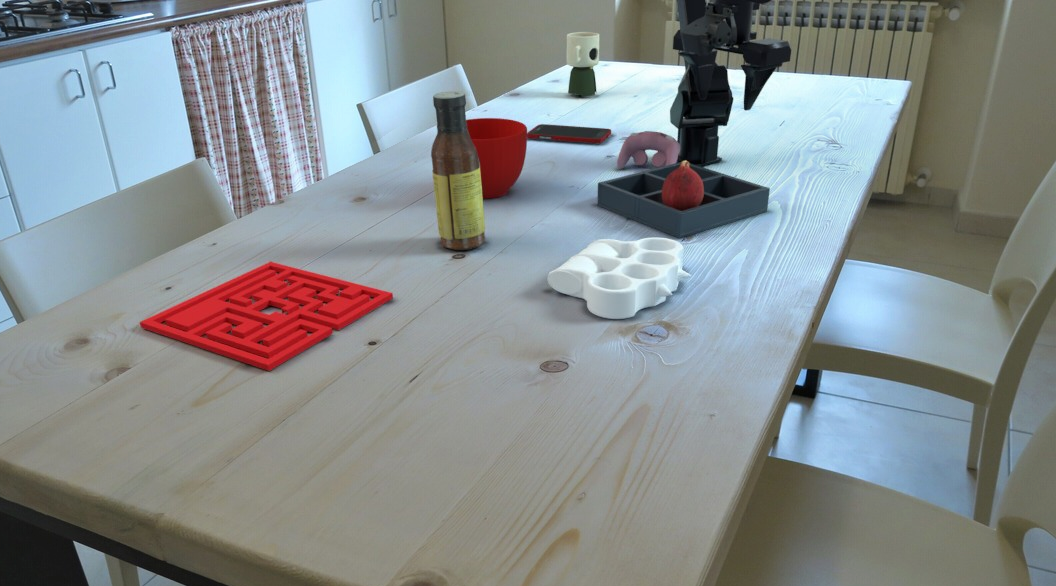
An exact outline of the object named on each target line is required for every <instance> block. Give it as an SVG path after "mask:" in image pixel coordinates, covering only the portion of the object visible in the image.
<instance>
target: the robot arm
mask: <svg viewBox="0 0 1056 586" xmlns="http://www.w3.org/2000/svg"><path fill="white" fill-rule="evenodd" d="M771 1H772V0H713V1H711V2H707V0H676V6H677V12H678V13H677V14H678V21H679V29H678V30H677V31H676V33H675V34H674V35H673V38H672V50H674V51H678V52H677V54H678V56H679V57H682V58H683V61H684V71H685V72H684V74H683V76H682V78H681V80H680V82H679V84H678V86H677V94H676V96H675V98H674V100H673V102H672V105H671V107H670V109H669V122H670V124H671V125H672V126H674V127H675V128H676V129H677V139H676V141H677V142H678V143H679V144H680V152H679V154H678V159H677V162H676V163H679V162H683V161H685V160H686V161H688V162H689V163H690V164H694V165H697V166H700V167H704V166H707V165H711V164H715V163H719V162H722V161H723V158H722V157H720V156H718V152H719V142H720V137H719V127H727V126H728V123H729V120H730V117H731V112H732V107H733V103H734V96H733V91H732V89H731V86H730V82H729V74H728V69H727V67H726V65H724V64H722V65H719V64H718V63H717V62H716V60H717V55H718V51H719V52H726V53H731V54H737V55H741V56H742V59H743V60H744V62H745V63H744V64H740V68H741V69H742V71H743V73H744V75H745V80H744V92H743V110H744V111H751V109H752V108H753V106H754V104H755V102H756V101H757V99H758V98H759V96H760V94H761V92H762V90H763V89H764V87H765V85H766V84H767V82H768V81H769V79H770V78H771V77H772V75H773V74H774V72H775V70H777V68H781V67H783V64H784V63H788V62H791V58H792V46H791V44H790V42H789V41H788V40H783V39H777V38H771V37H768V38H763V39H757V35H758V32H757V31H752V27H753V16H754V11H758V10H760V5H763V4H767V3H769V2H771Z"/></svg>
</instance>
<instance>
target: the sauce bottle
mask: <svg viewBox="0 0 1056 586" xmlns="http://www.w3.org/2000/svg"><path fill="white" fill-rule="evenodd" d="M466 99H467V98H466V94H465V92H463V91H459V90H458V91H457V90H450V91H449V90H448V91H441V92H437V93H434V95H433V97H432V102H433V107H434V109H435V115H436V131H437V132H436V135H435V137H434V140H433V142H432V145H431V151H430V157H431V164H432V171H431V173H432V180H433V190H434V199H435V208H436V218H437V227H438V235H439V236H440V242H441V245H442V247H443V248H445V249H450V250H454V251H467V250H468V251H470V250H473V249H476V248H479V247H480V246H482V245H483V244H484V243H485V241H486V236H485V235H486V234H485V230H486V222H485V210H484V200H483V199H484V198H483V197H482V185H481V174H480V163H479V158H478V154H477V151H476V148H475V146H474V144H473V143H472V140H471V138H470V135H469V132H468V129H467V123H466V120H467V115H466V105H467V100H466Z"/></svg>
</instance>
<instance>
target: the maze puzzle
mask: <svg viewBox="0 0 1056 586" xmlns="http://www.w3.org/2000/svg"><path fill="white" fill-rule="evenodd" d="M288 284H289V285H288ZM317 292H319V293H317ZM251 297H252V299H251ZM315 297H316V298H315ZM285 298H287V299H285ZM371 298H372V299H371ZM392 299H394V293H393V292H390V291H386V290H382V289H379V288H374V287H371V286H367V285H362V284H359V283H355V282H351V281H347V280H344V279H340V278H336V277H333V276H332V277H331V276H328V275H324V274H321V273H318V272H317V273H316V272H313V271H309V270H305V269H301V268H297V267H294V266H288V265H286V264H281V263H277V262H275V261H268V262H266V263H264V264H262V265H260V266H257V267H256V268H254V269H252V270H249V271H247V272H245V273H243V274H241V275H238V276H236V277H234V278H232V279H230V280H227V281H226V282H224V283H221V284H219V285H217V286H215V287H213V288H210V289H209V290H208V289H207V290H206V291H204V292H202V293H199V294H197V295H195V296H193V297H191V298H188V299H187V300H184V301H182V302H180V303H178V304H176V305H174V306H172V307H169V308H167V309H165V310H163V311H160V312H158V313H155V314H154V315H152V316H150V317H148V318H146V319H144V320H142V321H139V325H140V328H141V329H144V330H147V331H150V332H153V333H156V334H158V335H162V336H165V337H168V338H171V339H174V340H176V341H180V342H182V343H185V344H189V345H191V346H193V347H196V348H197V347H198V348H200V349H203V350H207V351H209V352H211V353H215V354H217V355H220V356H223V357H226V358H229V359H233V360H236V361H239V362H241V363H244V364H248V365H250V366H254V367H256V368H259V369H261V370H262V369H263V370H266V371H267V372H270V371H271V370H273V369H275V368H277V367H278V366H280V365H282V364H283V363H286V362H287V361H288V360H290V359H292V358H294V357H296V356H297V355H299V354H301V353H302V352H304V351H305V350H307V349H309V348H311V347H312V346H315V344H318V343H319V342H321V341H323V340H325V339H326V338H328V337H329V336H331V335H333V334H334V333H333V329H334V330H336V331H340V330H341V329H343V328H345V327H346V326H348V325H350V324H352V323H354V322H355V321H357V320H358V319H360V318H362V317H364V316H366V315H367V314H368V313H370V312H372V311H374V310H376V309H377V308H379V307H381V306H382V305H384V304H386V303H388V302H390V301H391V300H392ZM228 301H229V302H228ZM253 301H254V302H253ZM324 303H326V304H324ZM300 305H301V306H302V307H301V306H300ZM270 306H272V307H275V308H279V309H281V312H278V311H273V312H271V313H270V314H269V313H265V312H261V311H262V310H264V309H266V308H268V307H270ZM316 311H317V313H316ZM286 313H287V314H286ZM163 322H165V324H164V323H163ZM264 324H265V325H267V326H264ZM233 325H234V327H233ZM229 332H231V334H229ZM308 332H309V333H310V334H308ZM204 335H205V337H203V336H204ZM261 341H262V344H261V343H260V342H261Z"/></svg>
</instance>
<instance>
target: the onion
mask: <svg viewBox="0 0 1056 586" xmlns="http://www.w3.org/2000/svg"><path fill="white" fill-rule="evenodd" d="M689 164H690V163H689V162H688V161H686V160H685V161H683V162H682V163H681V165H680V167H679V168H678V169H676V170H674V171H673V172H671V173H670V174H669V175H668V176H667V178H666V179H665V181H664V184H663V187H662V199H663V202H664V204H665V205H666V206H669V207H671V208H674V209H677V210H680V211H684V210H687V209H691V208H694V207H697V206H699V204H700V203H701V202H702V199H703V196H704V186H703V182H702V180H701V178H700V176H699V175H698V174H697V173H696V172H695V171H694V170H692V169H691V168H690V167H689Z"/></svg>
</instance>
